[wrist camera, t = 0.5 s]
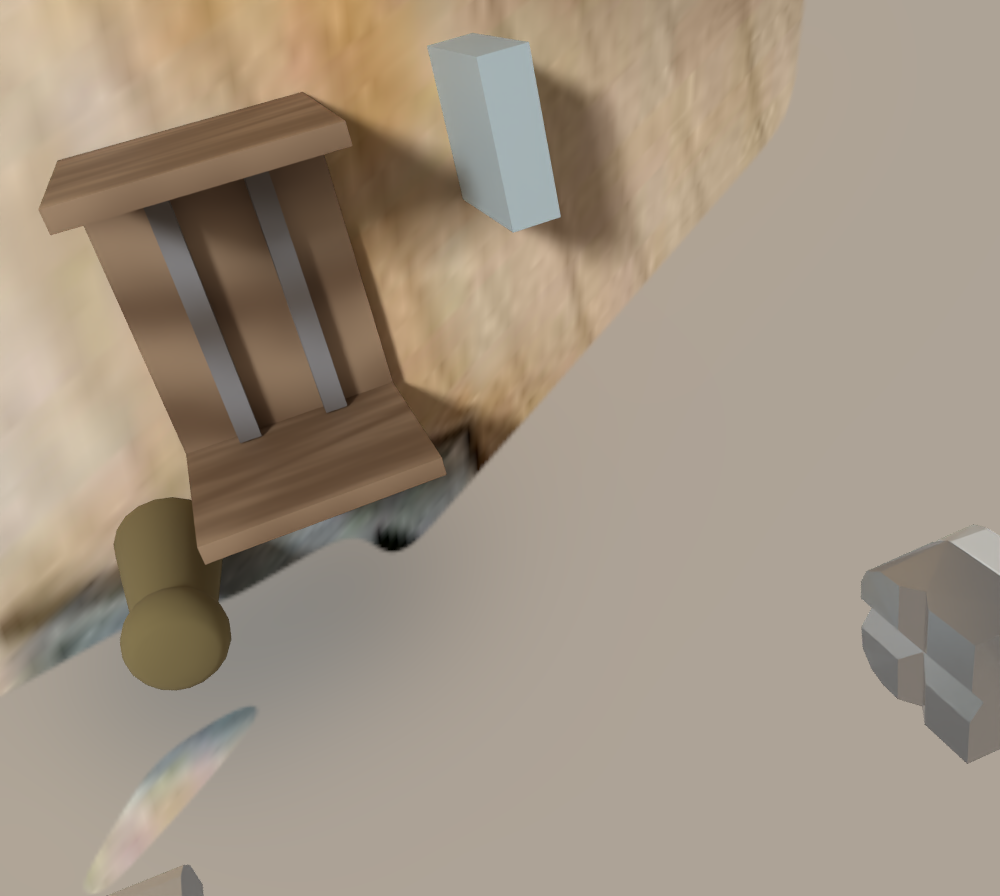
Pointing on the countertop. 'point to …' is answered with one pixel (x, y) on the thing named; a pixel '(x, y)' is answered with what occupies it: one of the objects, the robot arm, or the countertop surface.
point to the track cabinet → (249, 316)
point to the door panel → (496, 128)
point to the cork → (169, 598)
